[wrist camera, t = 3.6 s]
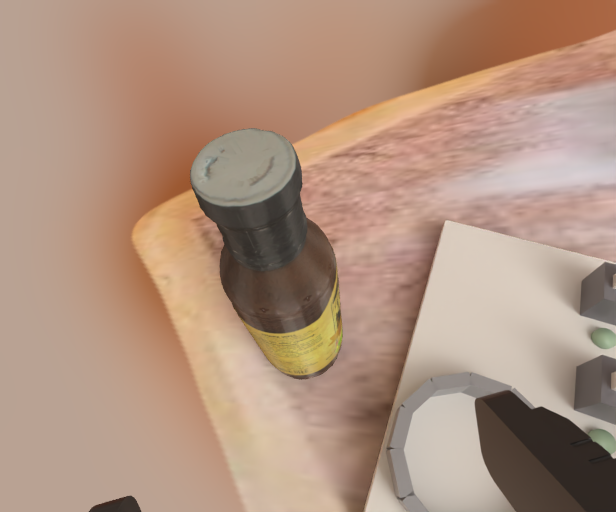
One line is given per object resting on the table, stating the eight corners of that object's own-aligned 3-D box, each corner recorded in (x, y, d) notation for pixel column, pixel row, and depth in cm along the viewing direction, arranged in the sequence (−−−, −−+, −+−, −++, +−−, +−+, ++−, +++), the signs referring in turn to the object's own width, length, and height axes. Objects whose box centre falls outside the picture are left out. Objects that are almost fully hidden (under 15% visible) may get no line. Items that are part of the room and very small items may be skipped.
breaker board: (440, 232, 34) (461, 178, 28) (613, 277, 30) (682, 227, 24) (358, 527, 24) (362, 547, 17) (607, 651, 20) (726, 734, 14)
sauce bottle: (357, 354, 29) (372, 187, 12) (288, 397, 28) (198, 280, 11) (316, 292, 32) (281, 88, 15) (252, 328, 31) (137, 152, 14)
